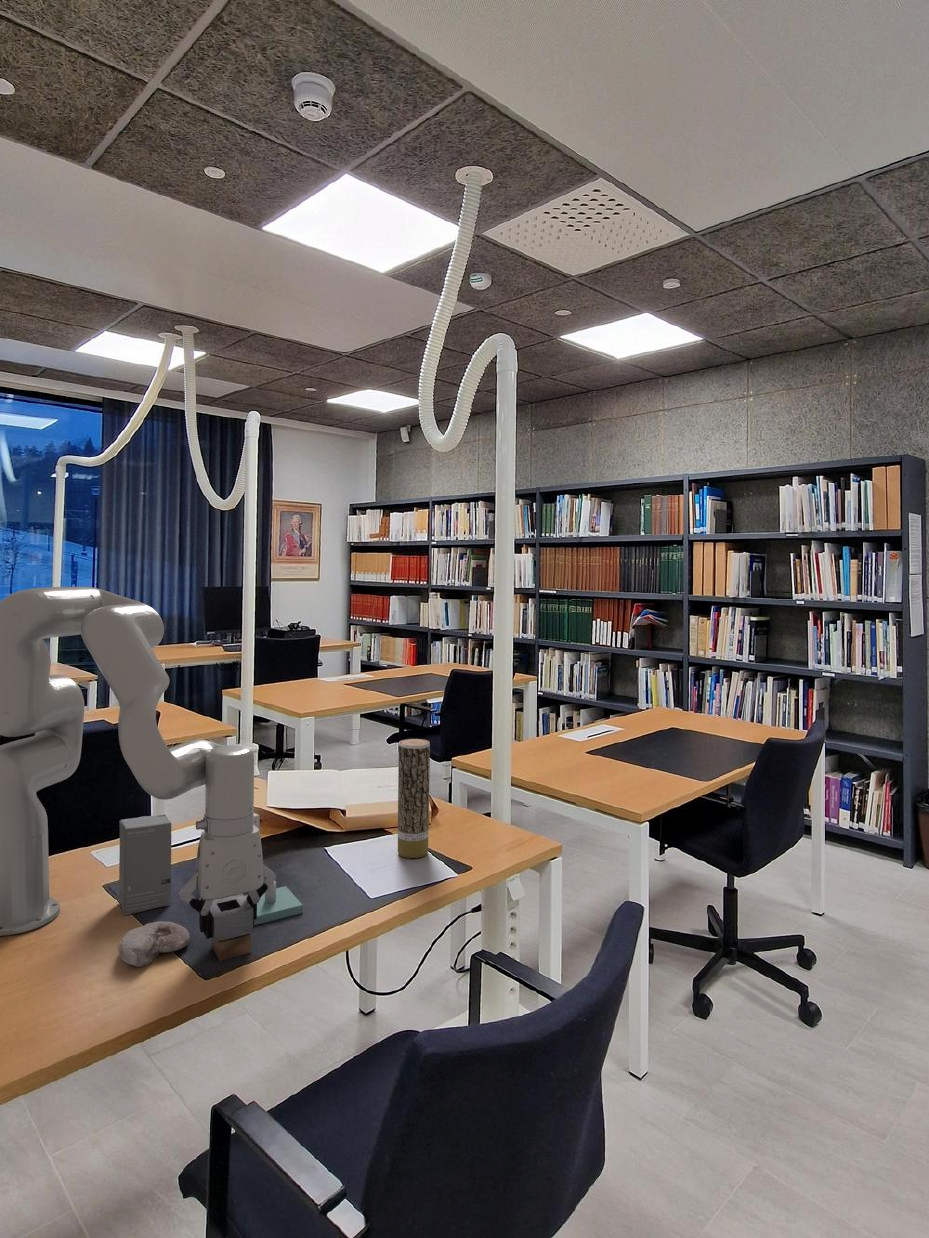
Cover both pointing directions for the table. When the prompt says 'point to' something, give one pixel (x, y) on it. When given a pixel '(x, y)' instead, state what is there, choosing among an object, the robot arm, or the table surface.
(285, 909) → the green peg base
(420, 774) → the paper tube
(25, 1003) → the table surface
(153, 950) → the fossil
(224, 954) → the stand
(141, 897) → the skincare box
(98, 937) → the table surface
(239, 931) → the collar
